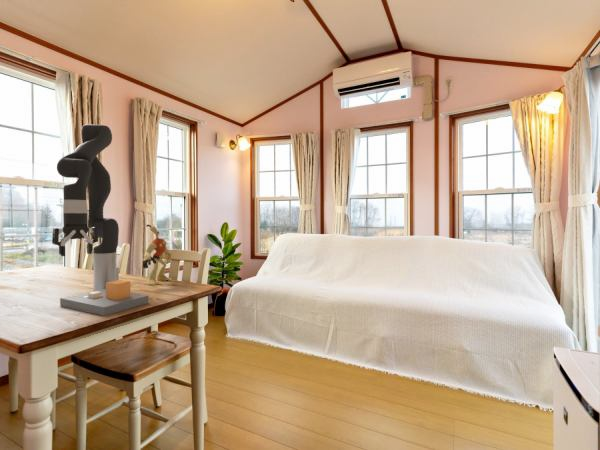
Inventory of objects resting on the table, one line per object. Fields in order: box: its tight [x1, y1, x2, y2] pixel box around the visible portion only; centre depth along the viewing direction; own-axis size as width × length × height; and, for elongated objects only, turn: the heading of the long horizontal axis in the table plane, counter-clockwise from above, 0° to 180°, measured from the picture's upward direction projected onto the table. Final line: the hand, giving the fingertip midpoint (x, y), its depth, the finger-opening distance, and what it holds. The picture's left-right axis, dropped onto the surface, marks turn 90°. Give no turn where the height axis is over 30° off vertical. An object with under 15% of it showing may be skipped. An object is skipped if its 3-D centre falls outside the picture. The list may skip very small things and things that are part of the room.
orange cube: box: [106, 279, 132, 300], centre depth 125 cm, size 6×6×6 cm
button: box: [88, 291, 102, 299], centre depth 124 cm, size 3×3×3 cm
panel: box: [59, 289, 149, 317], centre depth 125 cm, size 18×26×4 cm
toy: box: [142, 224, 173, 286], centre depth 163 cm, size 23×9×30 cm, turn 171°
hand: (76, 254), depth 121 cm, fingers open, 8 cm apart
